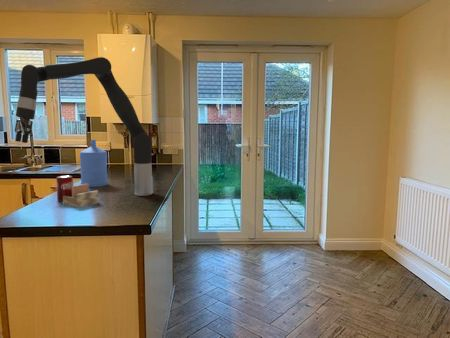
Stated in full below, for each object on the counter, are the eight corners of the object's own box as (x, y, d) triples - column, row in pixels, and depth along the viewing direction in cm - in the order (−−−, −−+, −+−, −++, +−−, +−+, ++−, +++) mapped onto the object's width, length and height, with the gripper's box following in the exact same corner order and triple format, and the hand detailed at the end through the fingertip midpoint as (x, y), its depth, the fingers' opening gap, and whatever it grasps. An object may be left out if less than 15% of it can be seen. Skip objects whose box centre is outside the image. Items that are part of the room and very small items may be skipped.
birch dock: (83, 200, 163) (82, 188, 163) (98, 202, 158) (98, 190, 157) (63, 204, 154) (62, 191, 153) (78, 207, 148) (78, 194, 148)
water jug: (99, 188, 195) (97, 140, 191) (75, 186, 198) (73, 140, 194) (113, 183, 210) (111, 139, 206) (90, 182, 213) (89, 139, 209)
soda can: (77, 199, 164) (76, 176, 162) (66, 202, 157) (65, 178, 155) (64, 198, 166) (63, 175, 164) (53, 201, 159) (52, 177, 157)
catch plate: (87, 201, 160) (87, 183, 159) (89, 201, 159) (88, 183, 158) (72, 204, 152) (71, 186, 151) (73, 204, 152) (73, 186, 151)
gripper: (40, 110, 153) (35, 144, 153) (29, 109, 162) (24, 142, 162) (23, 106, 147) (17, 142, 147) (12, 106, 156) (7, 139, 156)
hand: (21, 142), depth 155 cm, fingers open, 8 cm apart
